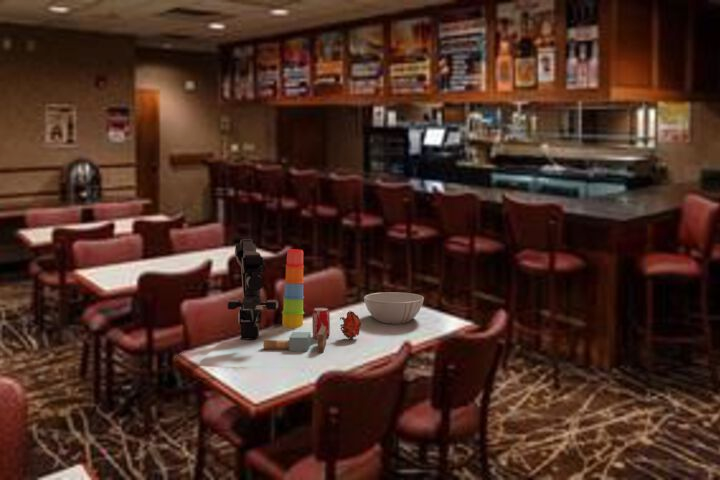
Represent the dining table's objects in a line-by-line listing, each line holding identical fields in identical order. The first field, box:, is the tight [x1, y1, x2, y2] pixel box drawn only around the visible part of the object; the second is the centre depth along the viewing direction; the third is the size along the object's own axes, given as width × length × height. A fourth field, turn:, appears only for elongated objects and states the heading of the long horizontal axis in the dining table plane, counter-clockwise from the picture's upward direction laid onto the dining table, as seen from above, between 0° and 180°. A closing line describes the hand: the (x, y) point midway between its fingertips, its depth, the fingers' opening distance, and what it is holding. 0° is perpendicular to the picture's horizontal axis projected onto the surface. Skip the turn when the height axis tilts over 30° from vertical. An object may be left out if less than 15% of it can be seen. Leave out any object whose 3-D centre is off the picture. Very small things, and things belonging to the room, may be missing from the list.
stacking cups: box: [281, 248, 305, 329], centre depth 293 cm, size 10×10×35 cm
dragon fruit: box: [339, 309, 362, 340], centre depth 275 cm, size 8×8×12 cm
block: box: [288, 331, 311, 352], centre depth 261 cm, size 7×9×5 cm
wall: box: [317, 326, 327, 354], centre depth 261 cm, size 2×14×7 cm, turn 178°
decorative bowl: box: [363, 291, 425, 325], centre depth 304 cm, size 27×27×12 cm
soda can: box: [311, 307, 331, 340], centre depth 278 cm, size 7×7×12 cm
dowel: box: [262, 339, 289, 351], centre depth 260 cm, size 10×4×4 cm
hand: (253, 326), depth 261 cm, fingers closed
